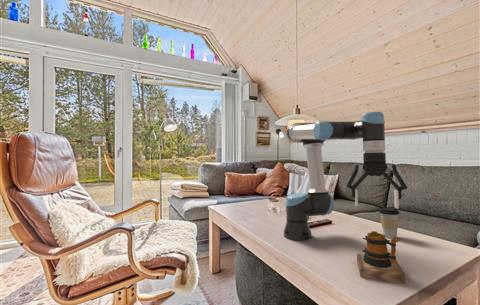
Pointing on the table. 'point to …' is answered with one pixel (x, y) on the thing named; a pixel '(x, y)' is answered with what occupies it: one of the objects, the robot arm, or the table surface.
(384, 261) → the mug
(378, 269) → the base
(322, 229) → the table surface
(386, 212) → the coffee cup
